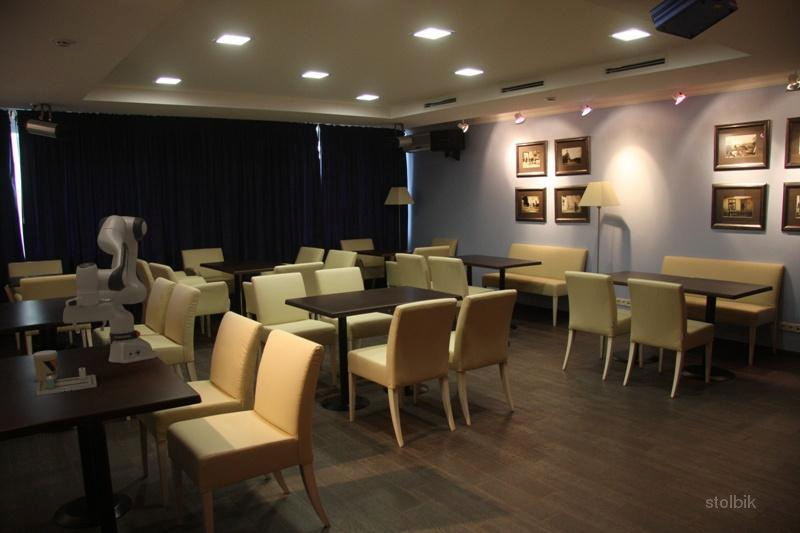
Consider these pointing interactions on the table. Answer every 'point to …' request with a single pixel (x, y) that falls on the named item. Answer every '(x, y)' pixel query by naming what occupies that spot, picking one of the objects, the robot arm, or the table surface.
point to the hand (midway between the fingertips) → (90, 331)
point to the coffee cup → (45, 364)
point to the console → (67, 385)
